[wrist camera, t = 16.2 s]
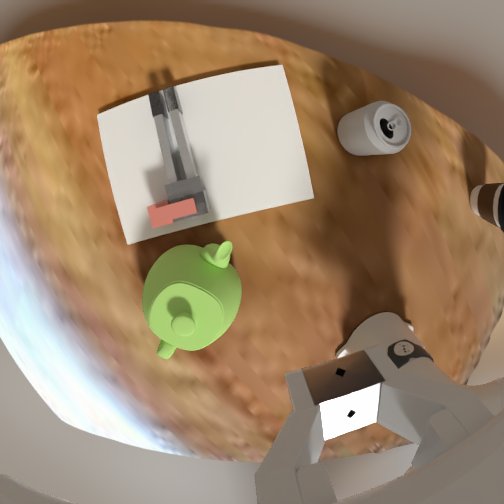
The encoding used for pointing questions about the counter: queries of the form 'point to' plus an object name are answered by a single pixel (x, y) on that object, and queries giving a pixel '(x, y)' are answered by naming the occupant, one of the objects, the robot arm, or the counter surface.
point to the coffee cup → (489, 203)
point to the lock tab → (170, 211)
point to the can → (375, 129)
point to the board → (210, 150)
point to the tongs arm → (180, 131)
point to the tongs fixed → (176, 163)
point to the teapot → (191, 296)
